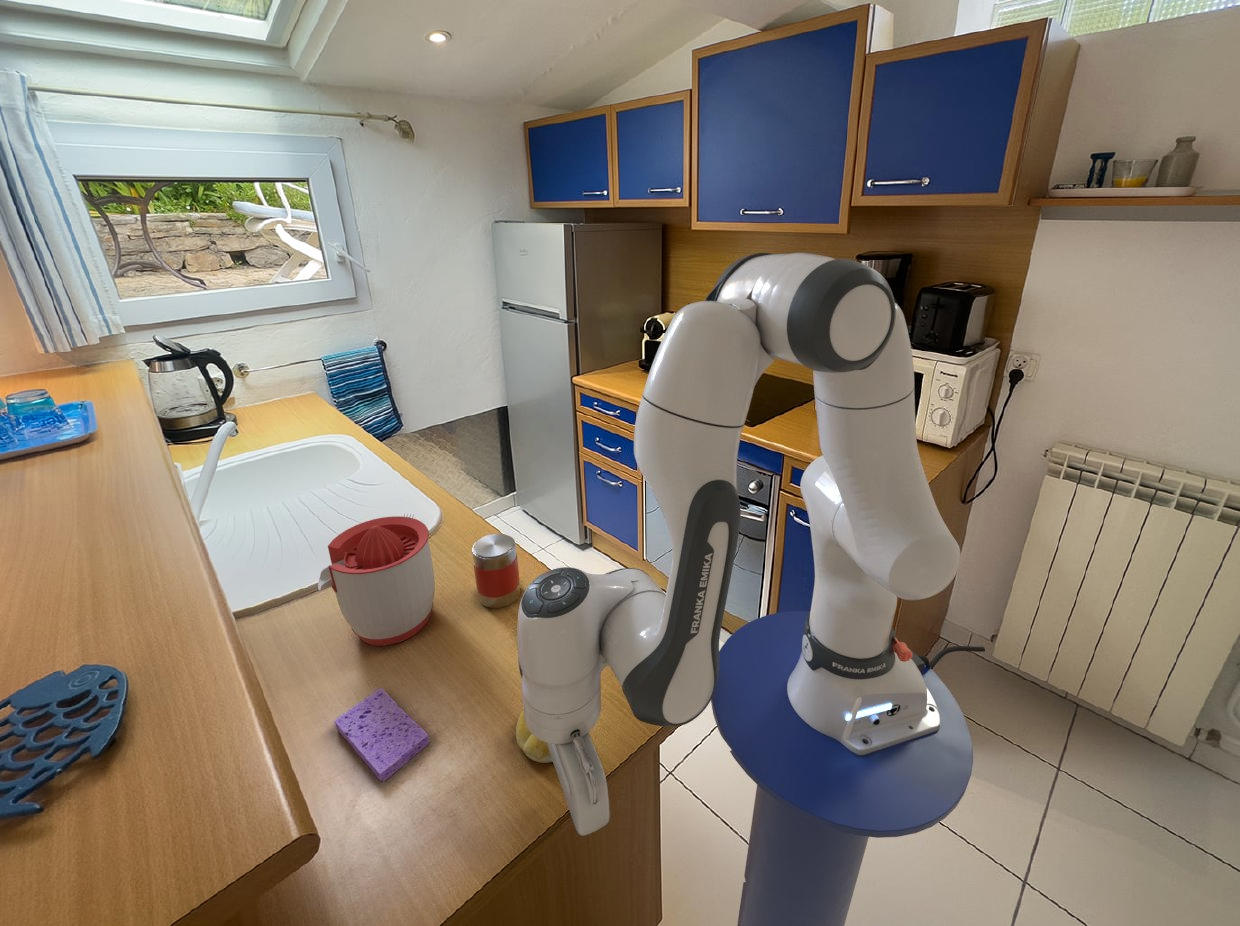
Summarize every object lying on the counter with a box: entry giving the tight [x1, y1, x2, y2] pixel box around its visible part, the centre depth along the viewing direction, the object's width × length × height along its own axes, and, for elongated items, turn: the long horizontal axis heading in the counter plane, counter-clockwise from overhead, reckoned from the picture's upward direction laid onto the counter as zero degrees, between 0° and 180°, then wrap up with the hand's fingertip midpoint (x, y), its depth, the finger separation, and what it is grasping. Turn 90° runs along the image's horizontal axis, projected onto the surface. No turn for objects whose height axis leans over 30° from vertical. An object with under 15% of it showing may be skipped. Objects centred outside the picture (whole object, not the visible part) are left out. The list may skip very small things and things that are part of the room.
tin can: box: [471, 533, 521, 609], centre depth 100 cm, size 8×8×11 cm
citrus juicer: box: [317, 515, 436, 646], centre depth 91 cm, size 16×17×20 cm
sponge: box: [333, 687, 431, 783], centre depth 75 cm, size 7×13×2 cm, turn 53°
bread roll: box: [515, 708, 553, 764], centre depth 75 cm, size 8×9×4 cm
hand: (567, 779), depth 67 cm, fingers closed
